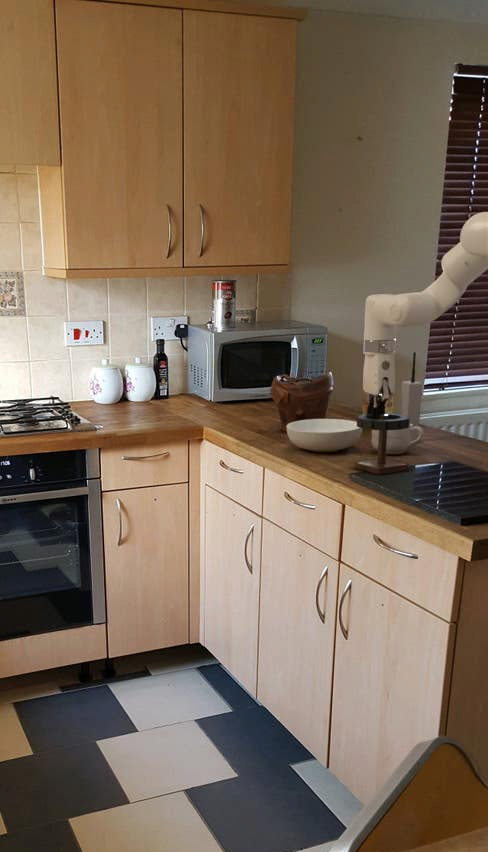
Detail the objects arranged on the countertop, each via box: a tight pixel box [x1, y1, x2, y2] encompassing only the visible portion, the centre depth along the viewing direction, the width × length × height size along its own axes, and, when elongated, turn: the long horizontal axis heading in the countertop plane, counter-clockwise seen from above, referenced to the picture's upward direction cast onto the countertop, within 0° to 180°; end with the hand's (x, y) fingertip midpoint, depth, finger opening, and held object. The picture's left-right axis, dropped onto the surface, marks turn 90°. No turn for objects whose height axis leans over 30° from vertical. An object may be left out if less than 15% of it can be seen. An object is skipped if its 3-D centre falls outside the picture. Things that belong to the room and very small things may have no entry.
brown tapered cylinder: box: [269, 371, 334, 433], centre depth 271 cm, size 18×20×18 cm
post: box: [355, 414, 409, 475], centre depth 216 cm, size 9×9×14 cm
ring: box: [356, 413, 410, 431], centre depth 214 cm, size 12×12×2 cm
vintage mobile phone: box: [401, 351, 423, 441], centre depth 248 cm, size 4×5×25 cm
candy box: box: [362, 389, 394, 415], centre depth 277 cm, size 9×4×15 cm, turn 44°
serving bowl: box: [286, 418, 363, 453], centre depth 243 cm, size 21×21×7 cm
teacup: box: [371, 424, 425, 455], centre depth 234 cm, size 14×11×8 cm
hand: (375, 422), depth 219 cm, fingers closed on ring, 2 cm apart
